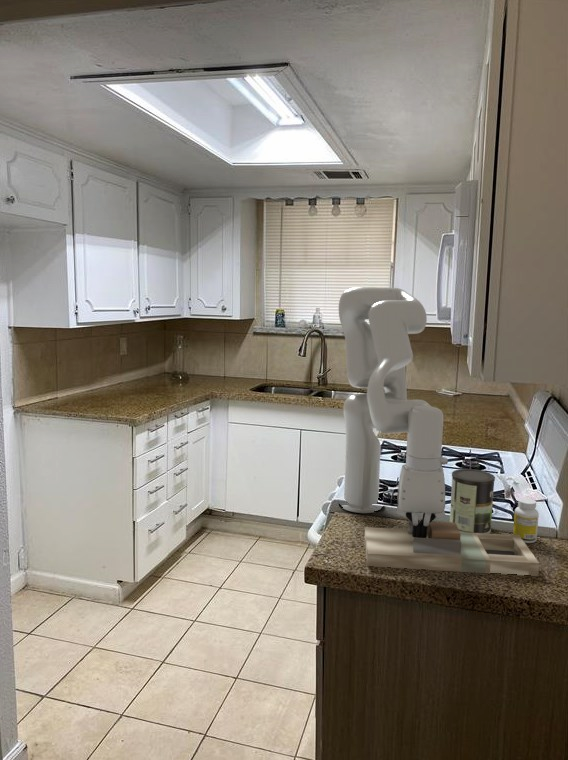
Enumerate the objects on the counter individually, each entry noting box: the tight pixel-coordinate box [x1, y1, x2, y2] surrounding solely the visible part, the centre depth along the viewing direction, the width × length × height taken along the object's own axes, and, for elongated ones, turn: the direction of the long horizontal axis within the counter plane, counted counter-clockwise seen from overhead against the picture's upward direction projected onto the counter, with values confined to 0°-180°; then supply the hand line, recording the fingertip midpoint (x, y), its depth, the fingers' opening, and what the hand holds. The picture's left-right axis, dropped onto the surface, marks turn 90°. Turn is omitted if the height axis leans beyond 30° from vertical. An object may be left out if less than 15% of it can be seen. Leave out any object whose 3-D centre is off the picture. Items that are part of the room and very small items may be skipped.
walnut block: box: [428, 521, 461, 540], centre depth 130 cm, size 6×6×4 cm
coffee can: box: [449, 468, 496, 534], centre depth 146 cm, size 10×10×14 cm
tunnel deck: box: [363, 519, 540, 577], centre depth 131 cm, size 14×36×6 cm, turn 85°
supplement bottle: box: [512, 497, 540, 544], centre depth 140 cm, size 5×5×10 cm
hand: (419, 540), depth 131 cm, fingers closed
